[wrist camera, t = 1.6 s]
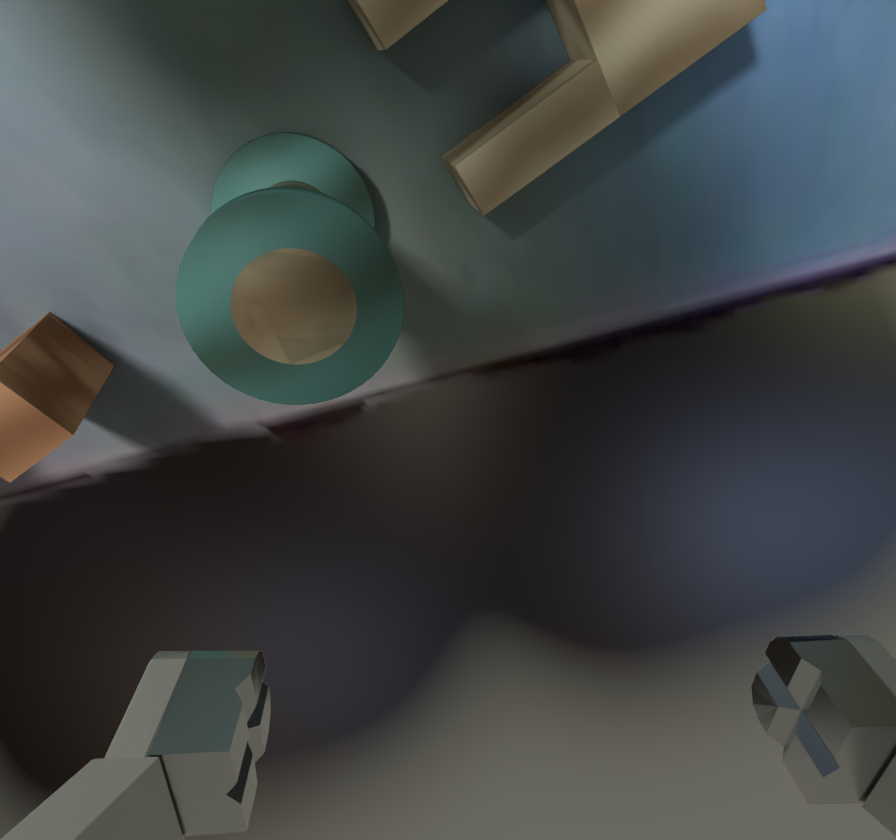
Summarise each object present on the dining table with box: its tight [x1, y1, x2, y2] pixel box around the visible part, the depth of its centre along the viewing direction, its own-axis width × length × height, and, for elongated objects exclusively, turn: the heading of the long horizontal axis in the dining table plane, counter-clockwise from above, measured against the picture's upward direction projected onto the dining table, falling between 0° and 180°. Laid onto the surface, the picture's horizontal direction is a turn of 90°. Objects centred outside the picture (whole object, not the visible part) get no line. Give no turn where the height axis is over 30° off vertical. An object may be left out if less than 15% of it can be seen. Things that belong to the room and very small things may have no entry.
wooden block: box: [0, 312, 114, 483], centre depth 36 cm, size 5×5×9 cm
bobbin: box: [176, 133, 404, 405], centre depth 31 cm, size 10×10×17 cm
